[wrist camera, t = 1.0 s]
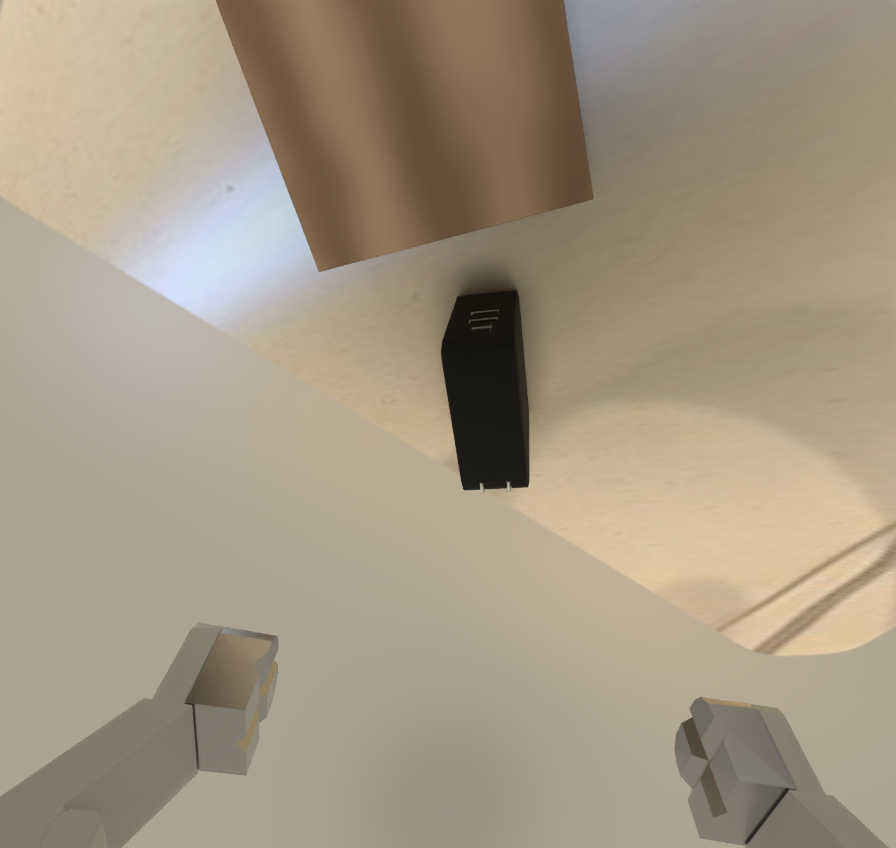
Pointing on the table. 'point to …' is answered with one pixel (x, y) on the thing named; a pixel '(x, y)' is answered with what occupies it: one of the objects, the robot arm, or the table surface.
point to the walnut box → (413, 115)
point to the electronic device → (488, 391)
